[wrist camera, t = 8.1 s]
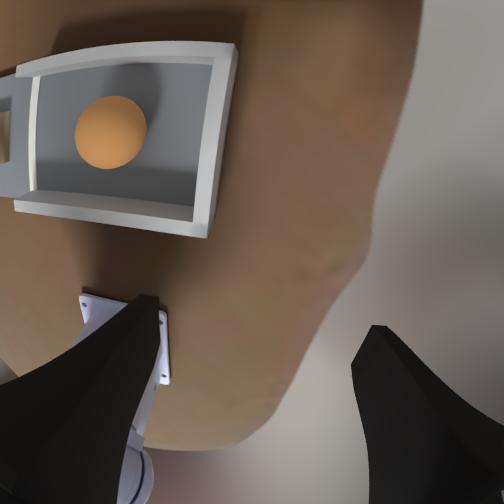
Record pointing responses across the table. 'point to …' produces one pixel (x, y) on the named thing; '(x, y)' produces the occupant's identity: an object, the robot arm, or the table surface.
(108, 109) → the ball
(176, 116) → the tray
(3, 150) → the frame
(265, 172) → the table surface
